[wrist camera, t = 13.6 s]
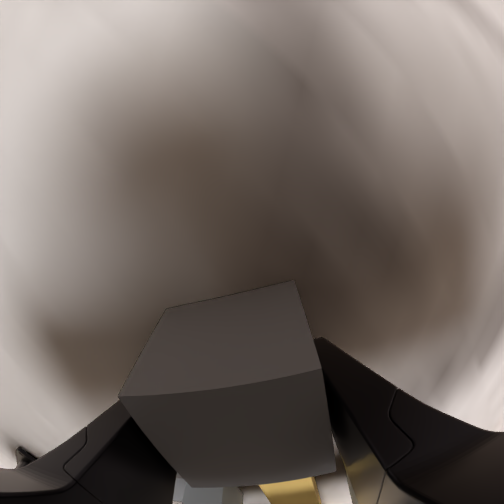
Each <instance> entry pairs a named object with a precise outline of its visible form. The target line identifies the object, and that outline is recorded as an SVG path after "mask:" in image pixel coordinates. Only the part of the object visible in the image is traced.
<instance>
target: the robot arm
mask: <svg viewBox="0 0 504 504" xmlns="http://www.w3.org/2000/svg"><path fill="white" fill-rule="evenodd" d="M313 341H314V344H315V347H316V351H317V354H318V357H319V361H320V364H321V367H322V373H323V379H324V385H325V391H326V398H327V404H328V411H329V418H330V425H331V432H332V434H333V437H334V440H335V442H336V445H337V448H338V450H339V453H340V455H341V458H342V461H343V463H344V466H345V469H346V471H347V474H348V477H349V479H350V482H351V485H352V487H353V490H354V493H355V495H356V498H357V501H358V504H504V432H494V431H488V430H484V429H481V428H478V427H476V426H473V425H471V424H468V423H466V422H464V421H461V420H459V419H457V418H454V417H452V416H450V415H447V414H445V413H443V412H441V411H439V410H437V409H434V408H432V407H430V406H428V405H426V404H424V403H423V402H421V401H419V400H417V399H416V398H414V397H412V396H411V395H409V394H407V393H406V392H404V391H403V390H401V389H400V388H397V387H396V386H395V385H393V384H392V383H390V382H389V381H387V380H386V379H384V378H383V377H381V376H380V375H378V374H377V373H375V372H374V371H372V370H371V369H369V368H368V367H366V366H365V365H363V364H362V363H360V362H359V361H357V360H356V359H354V358H353V357H351V356H350V355H348V354H347V353H345V352H344V351H342V350H341V349H339V348H338V347H336V346H335V345H334V344H332V343H331V342H329V341H328V340H326V339H325V338H323V337H321V338H317V339H313ZM16 456H17V467H16V468H15V469H3V468H0V504H172V502H173V495H174V489H175V482H176V475H177V472H176V470H175V469H174V468H173V467H172V466H171V465H170V464H169V463H168V462H167V460H166V459H165V458H164V457H163V456H162V455H161V453H160V452H159V451H158V450H157V449H156V447H155V446H154V445H153V444H152V442H151V441H150V440H149V439H148V437H147V436H146V435H145V434H144V432H143V431H142V430H141V428H140V427H139V426H138V424H137V423H136V422H135V420H134V419H133V418H132V416H131V415H130V413H129V412H128V411H127V409H126V408H125V406H124V405H123V403H122V402H121V400H119V401H118V402H116V403H115V404H114V405H113V406H111V407H110V408H109V409H108V410H106V411H105V412H104V413H103V414H101V415H100V416H99V417H97V418H96V419H95V420H94V421H92V422H91V423H90V424H88V425H87V427H84V428H83V429H82V430H81V431H79V432H78V433H77V434H75V435H74V436H72V437H71V438H70V439H68V440H67V441H65V442H64V443H62V444H61V445H59V446H58V447H56V448H55V449H53V450H52V451H50V452H48V453H47V454H45V455H43V456H42V457H40V458H39V459H37V460H36V459H35V458H33V457H32V456H31V455H29V454H28V453H27V452H25V451H24V450H23V449H21V448H20V447H18V448H17V449H16Z"/></svg>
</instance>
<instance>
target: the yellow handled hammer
mask: <svg viewBox="0 0 504 504" xmlns="http://www.w3.org/2000/svg"><path fill="white" fill-rule="evenodd" d="M118 398H119V399H120V400H121V402H122V403H123V405H124V406H125V408H126V409H127V411H128V412H129V413H130V415H131V416H132V418H133V419H134V420H135V422H136V423H137V424H138V426H139V427H140V428H141V430H142V431H143V432H144V434H145V435H146V436H147V437H148V439H149V440H150V441H151V442H152V444H153V445H154V446H155V447H156V449H157V450H158V451H159V452H160V453H161V455H162V456H163V457H164V458H165V459H166V460H167V462H168V463H169V464H170V465H171V466H172V467H173V468H174V469H175V470H176V472H177V473H178V474H179V475H180V476H181V477H182V478H183V479H184V480H185V481H186V482H187V483H188V484H189V485H190V486H191V487H192V488H219V487H240V486H252V485H259V486H260V488H261V489H262V491H263V492H264V494H265V495H266V497H267V498H268V500H269V501H270V503H271V504H321V500H320V497H319V493H318V489H317V485H316V481H315V478H314V476H318V475H323V474H327V473H332V472H336V463H335V455H334V447H333V440H332V432H331V425H330V418H329V411H328V404H327V398H326V391H325V385H324V379H323V373H322V367H321V364H320V361H319V357H318V354H317V351H316V347H315V344H314V341H313V338H312V334H311V331H310V328H309V325H308V322H307V318H306V315H305V312H304V309H303V306H302V303H301V299H300V296H299V293H298V290H297V287H296V284H295V281H294V280H292V281H288V282H284V283H280V284H276V285H272V286H267V287H263V288H259V289H255V290H250V291H246V292H242V293H237V294H233V295H228V296H224V297H219V298H215V299H210V300H206V301H201V302H196V303H192V304H187V305H182V306H177V307H172V308H168V309H166V310H165V312H164V314H163V315H162V317H161V319H160V321H159V322H158V324H157V326H156V328H155V329H154V331H153V333H152V335H151V336H150V338H149V340H148V342H147V343H146V345H145V347H144V349H143V351H142V352H141V354H140V356H139V358H138V360H137V361H136V363H135V365H134V367H133V369H132V371H131V372H130V374H129V376H128V378H127V380H126V382H125V384H124V385H123V387H122V389H121V391H120V393H119V395H118Z"/></svg>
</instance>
